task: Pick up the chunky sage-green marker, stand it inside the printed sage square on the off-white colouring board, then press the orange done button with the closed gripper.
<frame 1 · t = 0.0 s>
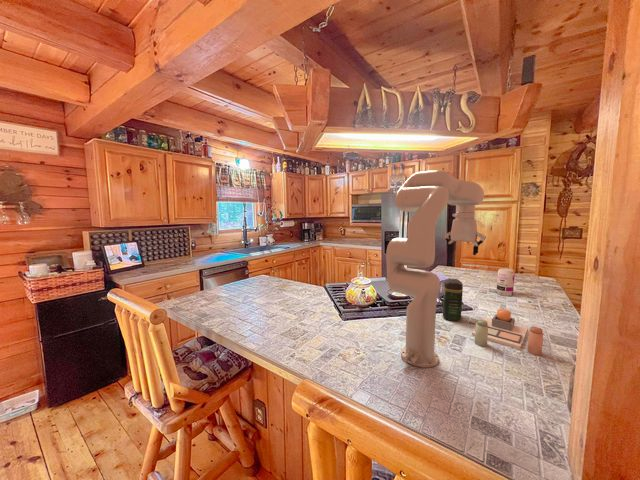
hand: (463, 253, 121), 31 cm above the worktop, fingers open, 9 cm apart
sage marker: (480, 343, 102), on the worktop
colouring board: (500, 332, 110), on the worktop
coffee jar: (451, 317, 126), on the worktop
done button: (503, 315, 113), point 6 cm above the worktop, slide at 0.0 cm
peach cylinder: (534, 352, 95), on the worktop
supplement can: (504, 294, 157), on the worktop
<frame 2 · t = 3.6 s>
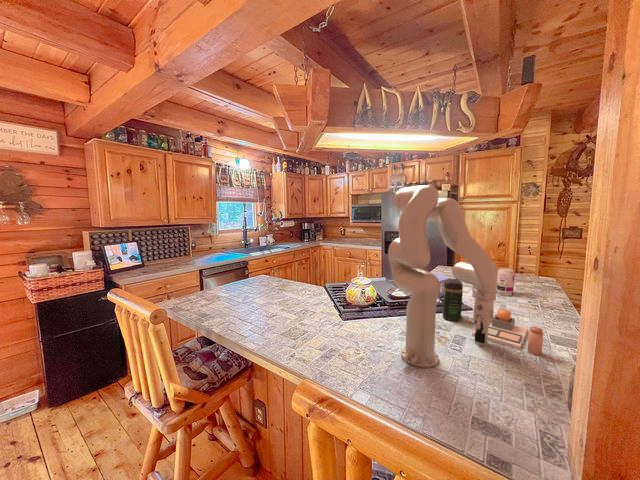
hand: (481, 339, 101), 2 cm above the worktop, fingers closed on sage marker, 4 cm apart
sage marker: (480, 343, 102), on the worktop, touching gripper
everything else where it was.
when the fingers open (4 cm above the worktop, at t = 7.9 s): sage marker stays where it is, resting on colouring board.
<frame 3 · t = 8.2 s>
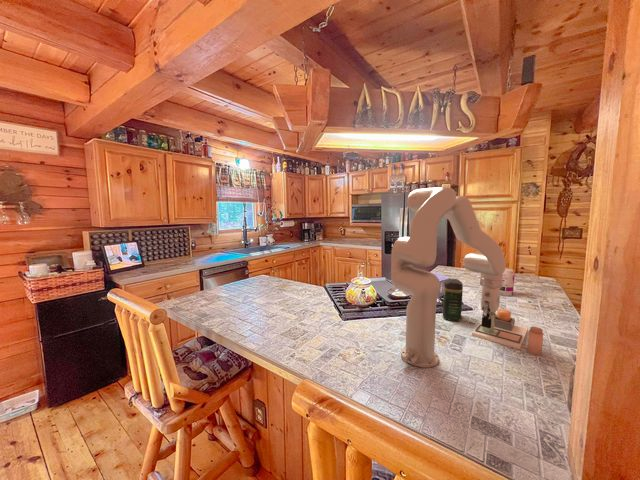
hand: (488, 323, 109), 4 cm above the worktop, fingers open, 6 cm apart
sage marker: (487, 330, 109), point 1 cm above the worktop, touching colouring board
everything else where it was.
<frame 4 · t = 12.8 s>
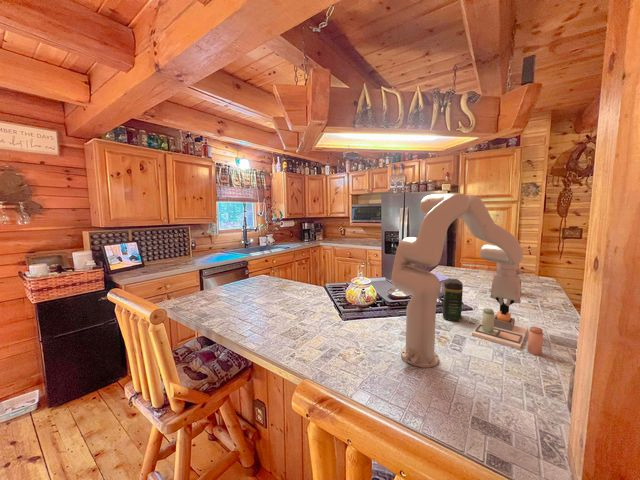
hand: (504, 313, 113), 7 cm above the worktop, fingers closed
done button: (503, 318, 113), point 5 cm above the worktop, slide at 1.0 cm, touching gripper
everything else where it was.
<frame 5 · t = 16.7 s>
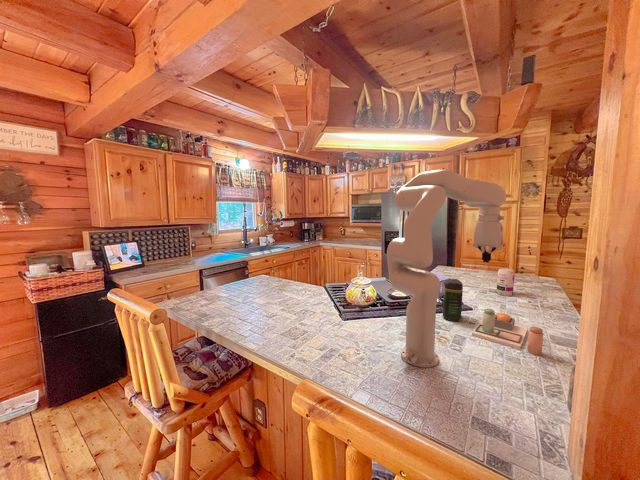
hand: (486, 261, 112), 29 cm above the worktop, fingers closed
done button: (503, 319, 113), point 4 cm above the worktop, slide at 1.8 cm
everything else where it was.
at the end: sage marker 0.0 cm from the target spot on the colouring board, point 1.4 cm above the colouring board's base; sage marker tilted 3°; done button slide at 1.8 cm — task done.
